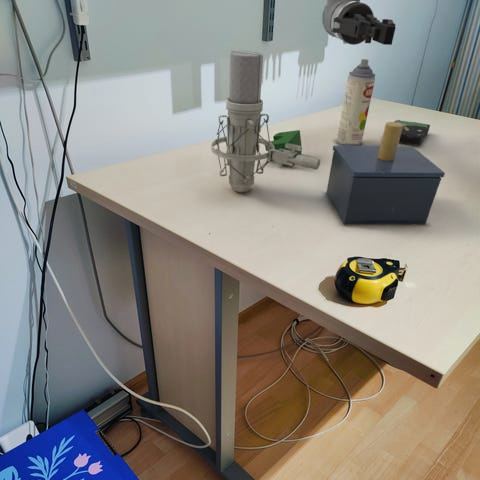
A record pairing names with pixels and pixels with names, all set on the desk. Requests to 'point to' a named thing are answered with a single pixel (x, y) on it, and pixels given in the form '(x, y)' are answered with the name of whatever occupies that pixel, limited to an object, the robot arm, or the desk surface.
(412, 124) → the disk drive
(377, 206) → the bin
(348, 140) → the aerosol can
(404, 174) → the lid
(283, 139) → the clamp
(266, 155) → the microphone
